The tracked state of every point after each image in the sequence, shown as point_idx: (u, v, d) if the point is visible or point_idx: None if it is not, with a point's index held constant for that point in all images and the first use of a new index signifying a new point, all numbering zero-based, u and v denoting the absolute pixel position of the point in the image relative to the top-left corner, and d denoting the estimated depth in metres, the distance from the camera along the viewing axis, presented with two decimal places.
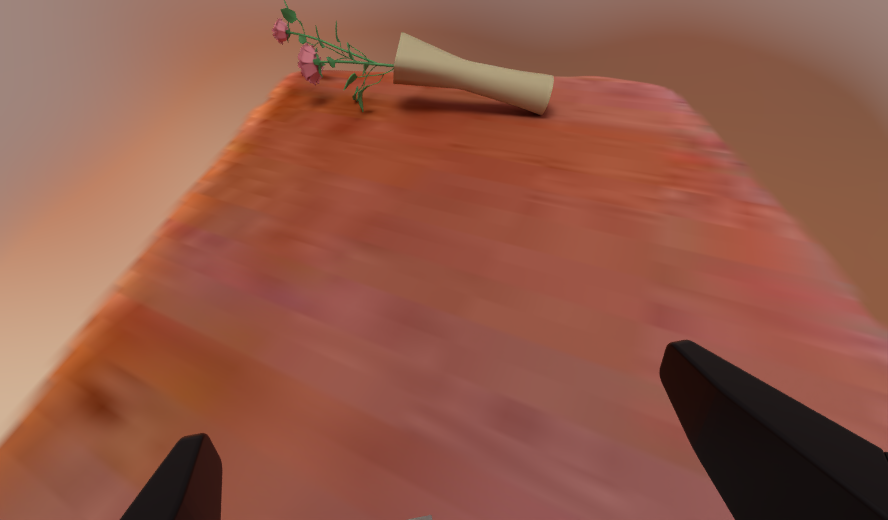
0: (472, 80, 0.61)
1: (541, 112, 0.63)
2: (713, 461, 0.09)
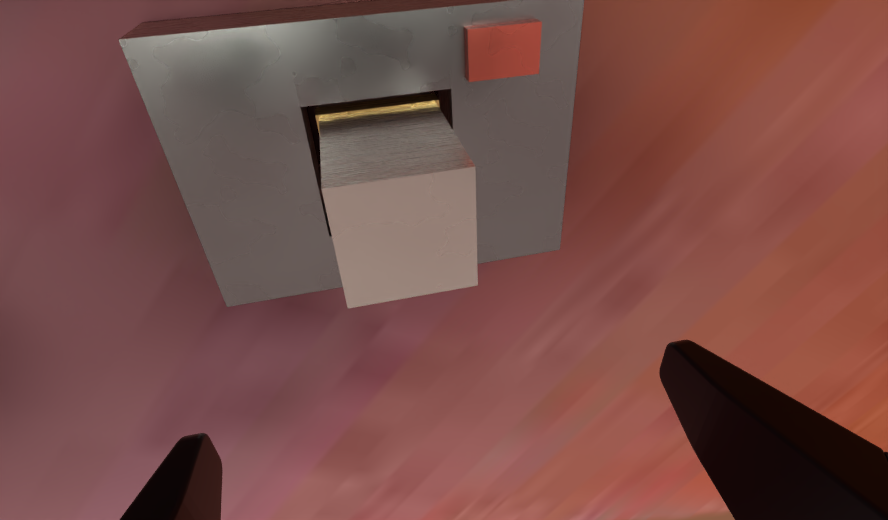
0: None
1: None
2: (713, 461, 0.09)
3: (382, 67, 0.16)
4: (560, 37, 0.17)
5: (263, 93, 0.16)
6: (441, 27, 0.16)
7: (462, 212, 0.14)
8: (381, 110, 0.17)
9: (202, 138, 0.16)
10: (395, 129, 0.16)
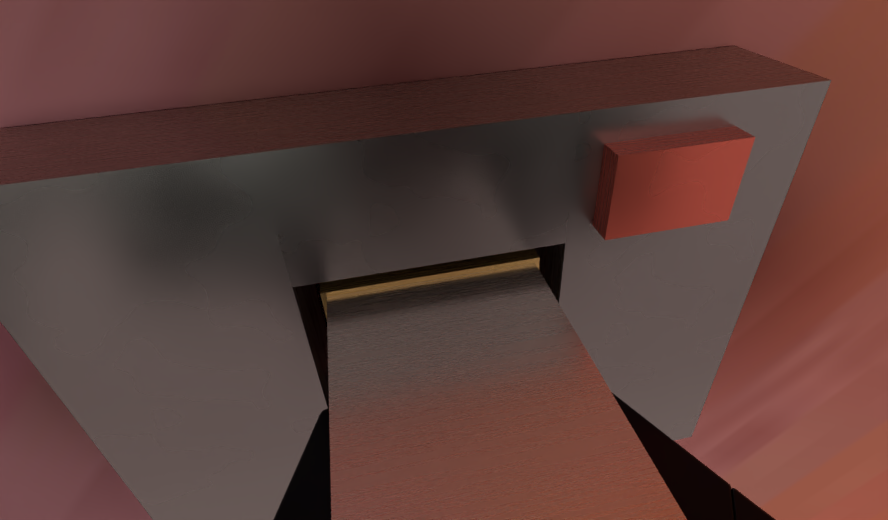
0: None
1: None
2: None
3: (447, 218, 0.09)
4: (769, 154, 0.09)
5: (222, 271, 0.08)
6: (563, 147, 0.08)
7: None
8: (438, 279, 0.10)
9: (109, 345, 0.09)
10: (474, 346, 0.08)
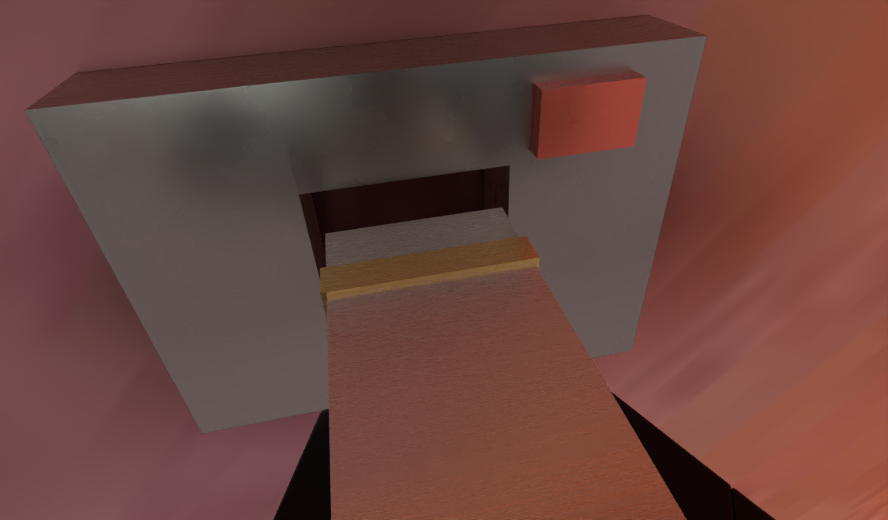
0: None
1: None
2: None
3: (416, 140, 0.11)
4: (665, 95, 0.12)
5: (246, 178, 0.11)
6: (502, 85, 0.11)
7: None
8: (438, 279, 0.10)
9: (159, 238, 0.12)
10: (474, 346, 0.08)
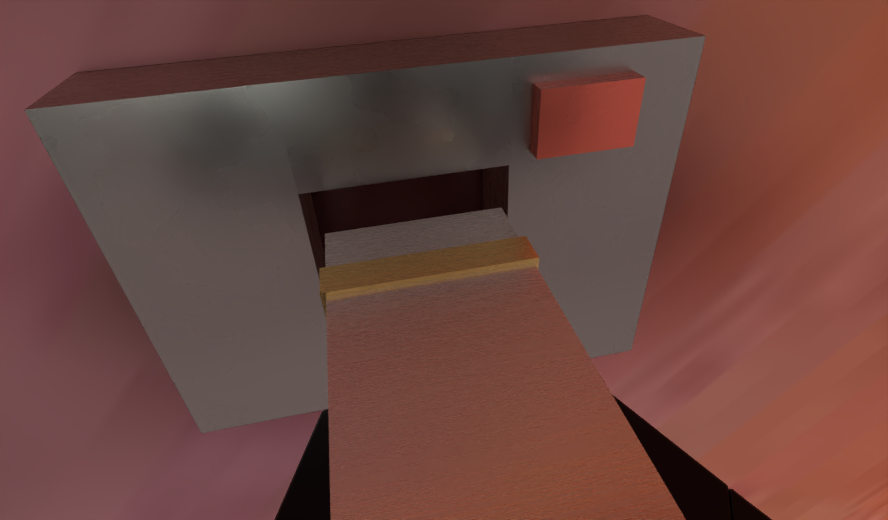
0: None
1: None
2: None
3: (415, 140, 0.11)
4: (664, 95, 0.12)
5: (245, 178, 0.11)
6: (501, 85, 0.11)
7: None
8: (438, 279, 0.10)
9: (158, 238, 0.12)
10: (473, 345, 0.08)
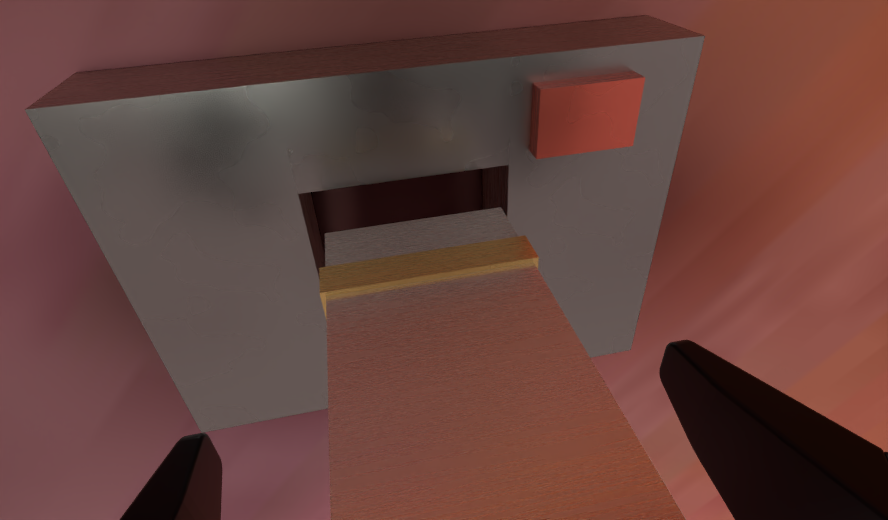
0: None
1: None
2: (713, 461, 0.09)
3: (415, 139, 0.11)
4: (664, 95, 0.12)
5: (246, 178, 0.11)
6: (501, 84, 0.11)
7: None
8: (437, 278, 0.10)
9: (159, 237, 0.12)
10: (473, 345, 0.08)
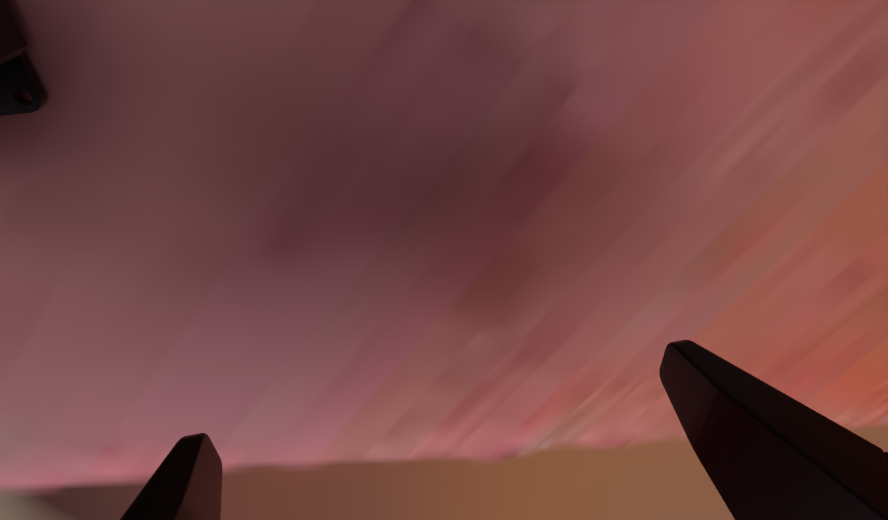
0: None
1: None
2: (713, 461, 0.09)
3: None
4: None
5: None
6: None
7: None
8: None
9: None
10: None
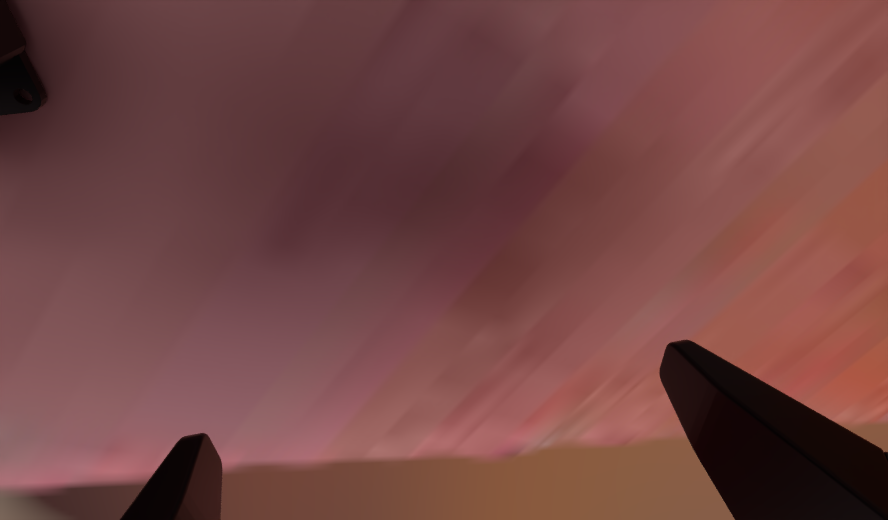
0: None
1: None
2: (713, 461, 0.09)
3: None
4: None
5: None
6: None
7: None
8: None
9: None
10: None
